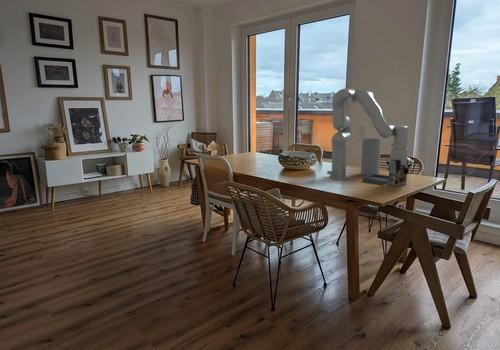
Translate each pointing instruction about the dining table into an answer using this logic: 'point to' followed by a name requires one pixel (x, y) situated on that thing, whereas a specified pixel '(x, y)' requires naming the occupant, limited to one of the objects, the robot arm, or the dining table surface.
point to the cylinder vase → (370, 156)
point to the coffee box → (397, 173)
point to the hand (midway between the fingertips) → (398, 173)
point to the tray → (376, 179)
